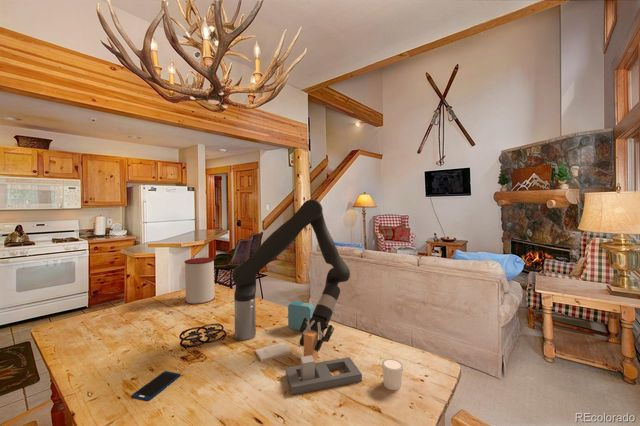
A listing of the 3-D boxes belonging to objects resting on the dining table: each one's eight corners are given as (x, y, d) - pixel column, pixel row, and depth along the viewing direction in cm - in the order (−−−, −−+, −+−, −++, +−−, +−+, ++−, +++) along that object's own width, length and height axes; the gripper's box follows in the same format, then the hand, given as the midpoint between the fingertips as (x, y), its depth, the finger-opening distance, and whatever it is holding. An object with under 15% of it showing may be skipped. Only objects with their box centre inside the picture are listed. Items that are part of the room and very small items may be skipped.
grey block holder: (291, 395, 89) (291, 371, 89) (286, 374, 99) (285, 353, 99) (361, 381, 96) (361, 359, 95) (349, 363, 106) (349, 343, 106)
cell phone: (129, 398, 88) (129, 396, 88) (165, 372, 102) (165, 370, 102) (148, 402, 86) (148, 400, 86) (182, 375, 100) (182, 373, 100)
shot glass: (379, 378, 97) (379, 358, 97) (398, 377, 97) (398, 357, 97) (385, 392, 90) (385, 370, 90) (406, 390, 91) (406, 369, 90)
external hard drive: (291, 354, 114) (261, 362, 108) (283, 345, 121) (254, 353, 115) (291, 350, 114) (261, 358, 108) (283, 341, 121) (254, 349, 115)
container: (178, 303, 170) (177, 262, 169) (196, 294, 187) (195, 257, 186) (205, 305, 167) (204, 263, 166) (220, 295, 184) (219, 257, 183)
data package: (314, 328, 136) (314, 304, 135) (310, 332, 132) (310, 307, 131) (292, 324, 141) (292, 300, 140) (287, 328, 136) (287, 303, 136)
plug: (309, 354, 112) (309, 330, 112) (318, 357, 110) (318, 332, 110) (303, 359, 109) (303, 333, 109) (312, 362, 107) (312, 336, 107)
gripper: (307, 300, 119) (289, 339, 110) (336, 307, 111) (320, 349, 102) (314, 308, 124) (298, 346, 114) (343, 316, 116) (328, 357, 106)
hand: (308, 348), depth 108 cm, fingers open, 6 cm apart
